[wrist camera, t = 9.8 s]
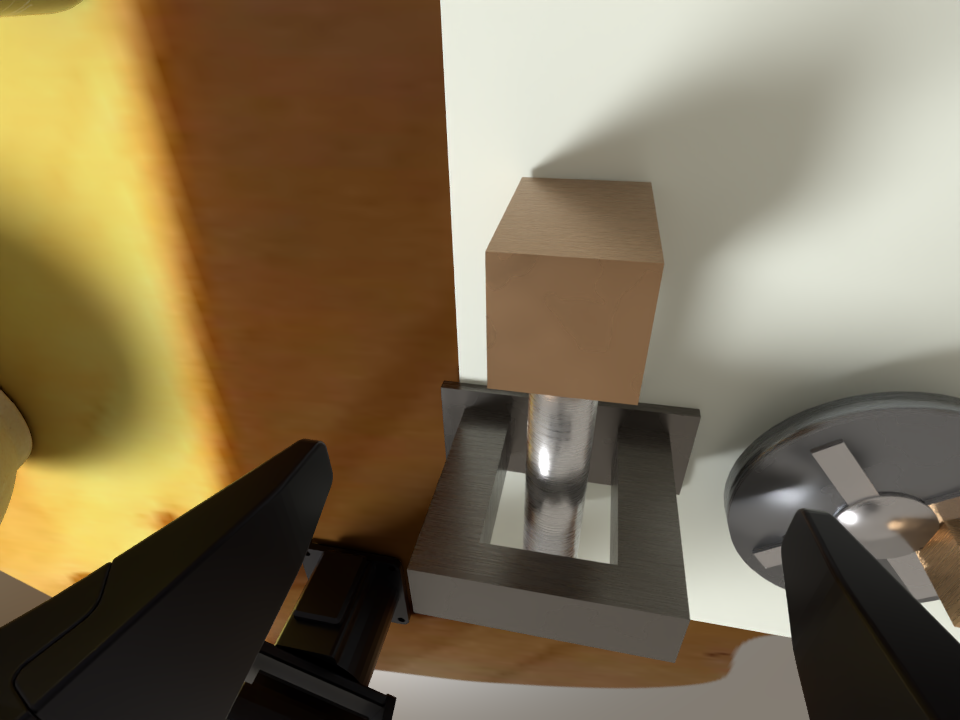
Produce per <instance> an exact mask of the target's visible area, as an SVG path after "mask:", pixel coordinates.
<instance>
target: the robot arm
mask: <svg viewBox="0 0 960 720" xmlns="http://www.w3.org/2000/svg"><path fill="white" fill-rule="evenodd" d="M332 479H333V473H332V468H331V464H330V460H329V456H328V452H327V448H326V445H325V444H324V443H323V442H322V441H317V440H310V439H301V440H299V441H297V442H296V443H294V444H292V445H291V446H289V447H288V448H286V449H285V450H283V451H281V452H280V453H278V454H277V455H275V456H274V457H272V458H271V459H269V460H267V461H266V462H264V463H263V464H261V465H260V466H258V467H257V468H255V469H253V470H252V471H250V472H249V473H247V474H246V475H244V476H242V477H241V478H239V479H238V480H236V481H235V482H233V483H232V484H230V485H228V486H227V487H225V488H224V489H222V490H221V491H219V492H218V493H216V494H214V495H213V496H211V497H210V498H208V499H207V500H205V501H203V502H202V503H200V504H199V505H197V506H196V507H194V508H193V509H191V510H189V511H188V512H186V513H185V514H183V515H182V516H180V517H178V518H177V519H175V520H174V521H172V522H171V523H169V524H168V525H166V526H164V527H163V528H161V529H160V530H158V531H157V532H155V533H154V534H152V535H150V536H149V537H147V538H146V539H144V540H143V541H141V542H139V543H138V544H136V545H135V546H133V547H132V548H130V549H129V550H127V551H125V552H124V553H122V554H121V555H119V556H118V557H116V558H115V559H114V560H113V561H112V563H111V562H108V563H106V564H105V565H103V566H102V567H100V568H99V569H97V570H96V571H94V572H92V573H91V574H89V575H88V576H86V577H85V578H83V579H81V580H80V581H78V582H77V583H75V584H73V585H72V586H70V587H68V588H67V589H65V590H64V591H62V592H60V593H59V594H57V595H55V596H54V597H52V598H51V599H49V600H48V601H46V602H44V603H42V604H40V605H39V606H37V607H35V608H34V609H32V610H30V611H28V612H27V613H25V614H23V615H22V616H20V617H18V618H16V619H14V620H13V621H11V622H9V623H8V624H6V625H4V626H2V627H0V720H392V716H393V711H394V707H395V702H396V697H394V696H392V695H389V694H387V695H385V694H383V693H380V692H378V691H376V690H374V689H371V688H369V687H368V685H369V682H370V679H371V677H372V674H373V671H374V668H375V666H376V663H377V660H378V657H379V654H380V652H381V649H382V646H383V643H384V640H385V638H386V635H387V632H388V629H389V626H390V624H391V622H395V623H400V624H407V623H409V620H410V616H411V615H410V609H409V603H408V597H407V591H406V585H405V579H404V573H403V567H402V563H401V562H400V561H399V560H398V559H396V558H392V557H386V556H381V555H375V554H369V553H364V552H358V551H352V550H346V549H341V548H335V547H329V546H324V545H318V544H312V543H310V542H311V540H312V537H313V534H314V531H315V529H316V526H317V523H318V520H319V518H320V515H321V512H322V509H323V507H324V504H325V501H326V499H327V496H328V493H329V490H330V488H331V484H332ZM781 559H782V567H783V575H784V583H785V591H786V599H787V607H788V615H789V623H790V631H791V638H792V644H793V651H794V655H795V660H796V664H797V669H798V673H799V677H800V681H801V686H802V690H803V694H804V698H805V702H806V706H807V710H808V714H809V718H810V720H960V643H959V642H958V641H957V640H956V639H955V638H954V637H953V636H952V635H951V634H950V633H949V632H948V631H947V630H946V629H945V628H944V627H943V626H942V625H941V624H940V623H939V622H938V621H937V620H936V619H935V618H934V617H933V616H932V615H931V614H930V613H929V612H928V611H927V610H926V609H925V608H924V607H923V605H922V604H921V603H920V602H919V601H918V600H917V599H916V598H915V597H914V596H913V595H912V594H911V593H910V592H909V591H908V590H907V589H906V588H905V587H904V586H903V585H902V584H901V583H900V582H899V581H898V580H897V579H896V578H895V577H894V576H893V575H892V574H891V573H890V572H889V571H888V570H887V569H886V568H885V567H884V566H883V565H882V564H881V563H880V562H879V561H878V560H877V559H876V558H875V557H874V556H873V555H872V554H871V553H870V552H869V551H868V550H867V549H866V548H865V547H864V546H863V545H862V544H861V543H860V542H859V541H858V540H857V539H856V538H855V537H854V536H853V535H852V534H851V533H850V532H849V531H848V530H847V529H846V528H845V527H844V526H843V525H842V524H841V523H840V522H839V521H838V520H837V519H836V518H835V517H834V516H833V515H832V514H830V513H829V512H826V511H822V510H814V509H807V508H800V509H799V510H797V511H796V513H795V515H794V517H793V519H792V521H791V523H790V525H789V527H788V529H787V532H786V534H785V536H784V538H783V541H782V545H781ZM302 563H303V565H304V568H305V571H306V574H307V577H308V582H307V583H306V585H305V587H304V589H303V591H302V593H301V595H300V597H299V599H298V601H297V603H296V605H295V607H294V608H293V610H292V612H291V614H290V616H289V618H288V620H287V622H286V624H285V626H284V628H283V630H282V632H281V634H280V635H279V637H278V639H277V641H276V643H275V645H273V644H271V643H268V642H266V641H265V639H266V637H267V635H268V633H269V631H270V629H271V626H272V624H273V622H274V620H275V618H276V616H277V614H278V612H279V610H280V608H281V606H282V604H283V602H284V600H285V598H286V596H287V594H288V592H289V590H290V588H291V586H292V584H293V582H294V580H295V578H296V576H297V574H298V571H299V569H300V567H301V565H302ZM244 681H245V682H244Z"/></svg>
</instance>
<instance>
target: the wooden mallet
mask: <svg viewBox="0 0 960 720" xmlns="http://www.w3.org/2000/svg"><path fill="white" fill-rule="evenodd" d="M663 268H664V258H663V251H662V245H661V239H660V233H659V227H658V221H657V214H656V208H655V202H654V196H653V190H652V184H651V182H633V181H608V180H583V179H558V178H534V177H522V178H521V180H520V182H519V184H518V186H517V188H516V190H515V192H514V194H513V197H512V199H511V201H510V203H509V205H508V207H507V209H506V211H505V213H504V215H503V217H502V219H501V221H500V223H499V225H498V227H497V229H496V231H495V233H494V235H493V237H492V239H491V241H490V243H489V245H488V247H487V249H486V251H485V275H486V341H487V388H489V389H498V390H507V391H515V392H524V393H529V401H528V426H527V451H526V477H525V502H524V527H523V550H529V551H535V552H541V553H547V554H553V555H559V556H565V557H571V558H577V556H578V548H579V541H580V533H581V526H582V518H583V511H584V503H585V496H586V488H587V481H588V473H589V466H590V458H591V451H592V443H593V436H594V428H595V421H596V413H597V406H598V401H604V402H613V403H622V404H631V405H638V402H639V396H640V391H641V386H642V380H643V375H644V370H645V364H646V359H647V354H648V348H649V343H650V338H651V332H652V327H653V322H654V316H655V311H656V306H657V300H658V295H659V290H660V284H661V279H662V274H663Z"/></svg>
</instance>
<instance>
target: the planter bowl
mask: <svg viewBox="0 0 960 720" xmlns="http://www.w3.org/2000/svg"><path fill="white" fill-rule="evenodd" d="M31 450H32V438H31V434H30V431H29V428H28V426H27V424H26V422H25V420H24V418H23V417H22V415H21V413H20V412H19V410H18V409H17V408H16V406H15V404H14V403H13V402H11V400H10V399H9V398H8V397H7V396H6V395H5V394H4V393H3V392H2V391H1V390H0V524H1V522H2V520H3V518H4V515H5V513H6V510H7V508H8V505H9V502H10V499H11V496H12V492H13V489H14V484H15V479H16V472H17V470H18V469H19V467H20V466H21V465H22V464H23V463H24V462H25V461H26V460H27V458H28V457H29V455H30V453H31Z"/></svg>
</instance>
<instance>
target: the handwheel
mask: <svg viewBox="0 0 960 720" xmlns="http://www.w3.org/2000/svg"><path fill="white" fill-rule="evenodd" d="M724 508H725V513H726V518H727V523H728V528H729V532H730V536H731V540H732V543H733V545H734V547H735V549H736V551H737V552H738V554H739V555H740V557H741V558H742V559H743V561H744V562H745V563H746V564H747V565H748V566H749V567H750V568H751V569H752V570H753V571H755V572H756V573H757V574H759V575H760V576H761V577H763V578H764V579H766V580H768V581H769V582H771V583H773V584H774V585H776V586H778V587H781V588H783V589H785V583H784V575H783V567H782V559H781V545H782V541H783V538H784V536H785V534H786V532H787V529H788V527H789V525H790V523H791V521H792V519H793V517H794V515H795V513H796V511H797V510H799V509H800V508H807V509H814V510H822V511H826V512H829V513H830V514H832V515H833V516H834V517H835V518H836V519H837V520H838V521H839V522H840V523H841V524H842V525H843V526H844V527H845V528H846V529H847V530H848V531H849V532H850V533H851V534H852V535H853V536H854V537H855V538H856V539H857V540H858V541H859V542H860V543H861V544H862V545H863V546H864V547H865V548H866V549H867V550H868V551H869V552H870V553H871V554H872V555H873V556H874V557H875V558H876V559H877V560H878V561H879V562H880V563H881V564H882V565H883V566H884V567H885V568H886V569H887V570H888V571H889V572H890V573H891V574H892V575H893V576H894V577H895V578H896V579H897V580H898V581H899V582H900V583H901V584H902V585H903V586H904V587H905V588H906V589H907V590H908V591H909V592H910V593H911V594H912V595H913V596H914V597H915V598H916V599H917V600H918V601H919V602H920V603H924V602H930V601H936V600H941V602H942V604H943V606H944V608H945V610H946V612H947V614H948V616H949V618H950V620H951V622H952V623H953V625H954V627H958V628H960V398H957V397H953V396H948V395H943V394H935V393H926V392H906V391H894V392H880V393H870V394H863V395H857V396H851V397H846V398H842V399H838V400H834V401H830V402H827V403H824V404H821V405H818V406H815V407H812V408H809V409H806V410H804V411H802V412H800V413H798V414H795V415H793V416H791V417H789V418H787V419H785V420H783V421H782V422H780V423H778V424H776V425H775V426H773V427H771V428H770V429H769V430H767V431H766V432H765V433H763V434H762V435H760V436H759V437H758V438H757V439H756V440H754V441H753V442H752V443H751V444H750V445H749V446H748V447H747V448H746V449H745V450H744V451H743V453H742V454H741V455H740V456H739V458H738V459H737V460H736V462H735V464H734V465H733V467H732V469H731V470H730V472H729V475H728V478H727V481H726V483H725V490H724Z"/></svg>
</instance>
